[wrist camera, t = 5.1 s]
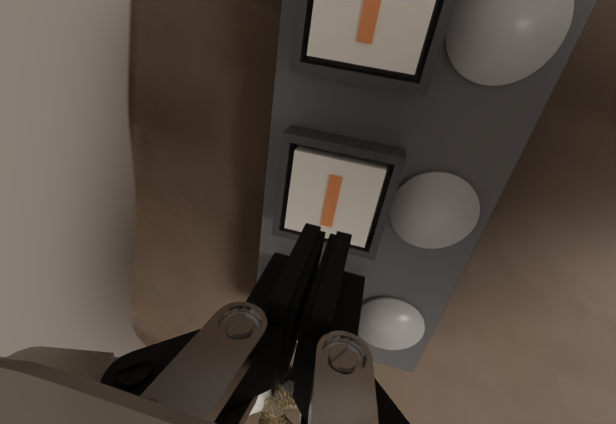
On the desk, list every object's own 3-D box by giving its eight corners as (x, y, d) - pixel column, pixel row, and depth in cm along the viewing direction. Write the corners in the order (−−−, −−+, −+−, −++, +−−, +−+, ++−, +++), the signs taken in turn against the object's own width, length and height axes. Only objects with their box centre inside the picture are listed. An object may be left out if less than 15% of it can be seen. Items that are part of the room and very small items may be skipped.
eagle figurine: (238, 407, 33) (316, 458, 31) (205, 447, 26) (302, 516, 24) (271, 339, 33) (350, 385, 32) (247, 361, 26) (346, 423, 25)
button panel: (596, -72, 13) (687, -123, 9) (410, 338, 25) (414, 393, 21) (311, -106, 15) (282, -162, 11) (265, 298, 27) (244, 343, 23)
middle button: (386, 159, 16) (386, 171, 15) (366, 231, 18) (364, 248, 17) (302, 140, 17) (293, 150, 15) (292, 213, 19) (283, 228, 17)
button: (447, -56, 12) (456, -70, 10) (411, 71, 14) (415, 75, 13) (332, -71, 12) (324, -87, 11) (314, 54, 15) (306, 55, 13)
